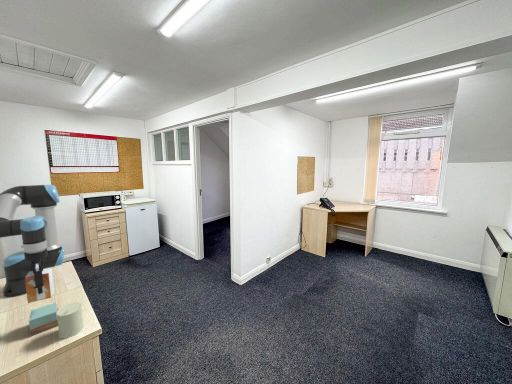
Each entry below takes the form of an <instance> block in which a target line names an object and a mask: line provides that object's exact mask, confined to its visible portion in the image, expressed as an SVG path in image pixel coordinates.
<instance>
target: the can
mask: <svg viewBox="0 0 512 384" xmlns="http://www.w3.org/2000/svg"><path fill="white" fill-rule="evenodd" d="M58 309H59V310H58V311H57V313H56V315H57V321H58V326H57V328H58V337H59V338H60V339H68V338H72V337H73V336H76V335H77V334H79V333H80V332H82V330H83V329H84V328H85V324H84V318H83V316H84V315H83V304H82V303H81V302H72V303H68V304H66V305H63V306H61V307H60V308H58Z"/></svg>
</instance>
